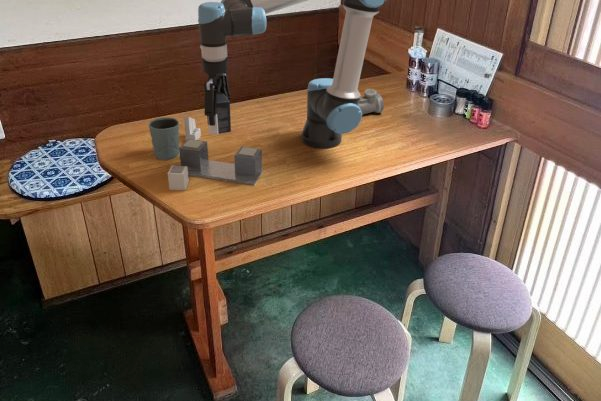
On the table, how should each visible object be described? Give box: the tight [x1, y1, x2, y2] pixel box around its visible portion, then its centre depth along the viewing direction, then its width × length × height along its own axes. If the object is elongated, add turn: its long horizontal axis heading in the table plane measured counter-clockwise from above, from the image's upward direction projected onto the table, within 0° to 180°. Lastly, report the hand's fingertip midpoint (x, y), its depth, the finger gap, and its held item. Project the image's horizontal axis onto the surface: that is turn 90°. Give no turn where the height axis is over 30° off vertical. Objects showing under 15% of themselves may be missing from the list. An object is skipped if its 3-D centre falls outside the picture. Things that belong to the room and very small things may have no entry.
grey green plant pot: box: [148, 116, 180, 161], centre depth 193 cm, size 10×10×12 cm
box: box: [206, 92, 232, 135], centre depth 174 cm, size 8×6×11 cm
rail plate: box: [179, 139, 264, 186], centre depth 184 cm, size 26×10×9 cm, turn 76°
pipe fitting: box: [358, 88, 385, 116], centre depth 228 cm, size 12×8×10 cm
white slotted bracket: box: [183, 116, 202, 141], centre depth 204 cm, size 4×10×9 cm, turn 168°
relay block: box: [167, 165, 190, 191], centre depth 177 cm, size 5×5×6 cm
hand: (219, 126), depth 176 cm, fingers closed on box, 9 cm apart
